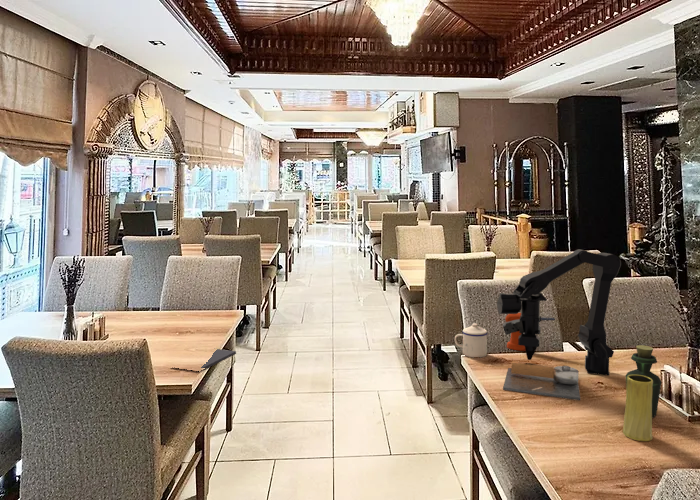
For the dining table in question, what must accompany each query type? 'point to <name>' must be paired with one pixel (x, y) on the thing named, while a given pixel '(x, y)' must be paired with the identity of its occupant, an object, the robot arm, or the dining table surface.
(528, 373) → the wooden bar
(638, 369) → the potion bottle
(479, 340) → the teacup with lid
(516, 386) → the chuck base plate
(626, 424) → the vase
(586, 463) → the dining table surface
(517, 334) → the toy drill
